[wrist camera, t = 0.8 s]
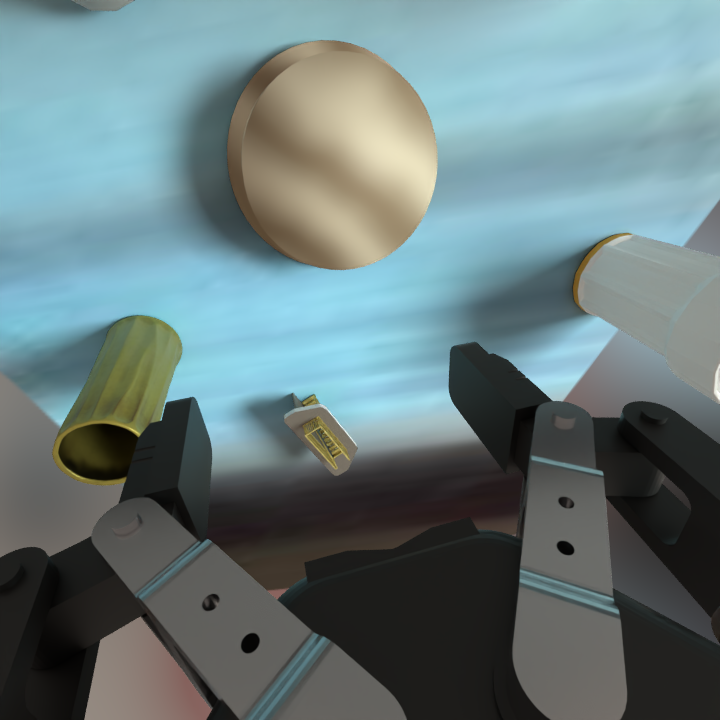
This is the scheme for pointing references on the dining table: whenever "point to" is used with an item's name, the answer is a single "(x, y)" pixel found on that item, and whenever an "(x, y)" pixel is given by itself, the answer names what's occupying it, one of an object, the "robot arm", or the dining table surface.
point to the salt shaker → (103, 4)
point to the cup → (658, 302)
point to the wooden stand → (331, 155)
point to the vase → (118, 401)
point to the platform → (321, 434)
